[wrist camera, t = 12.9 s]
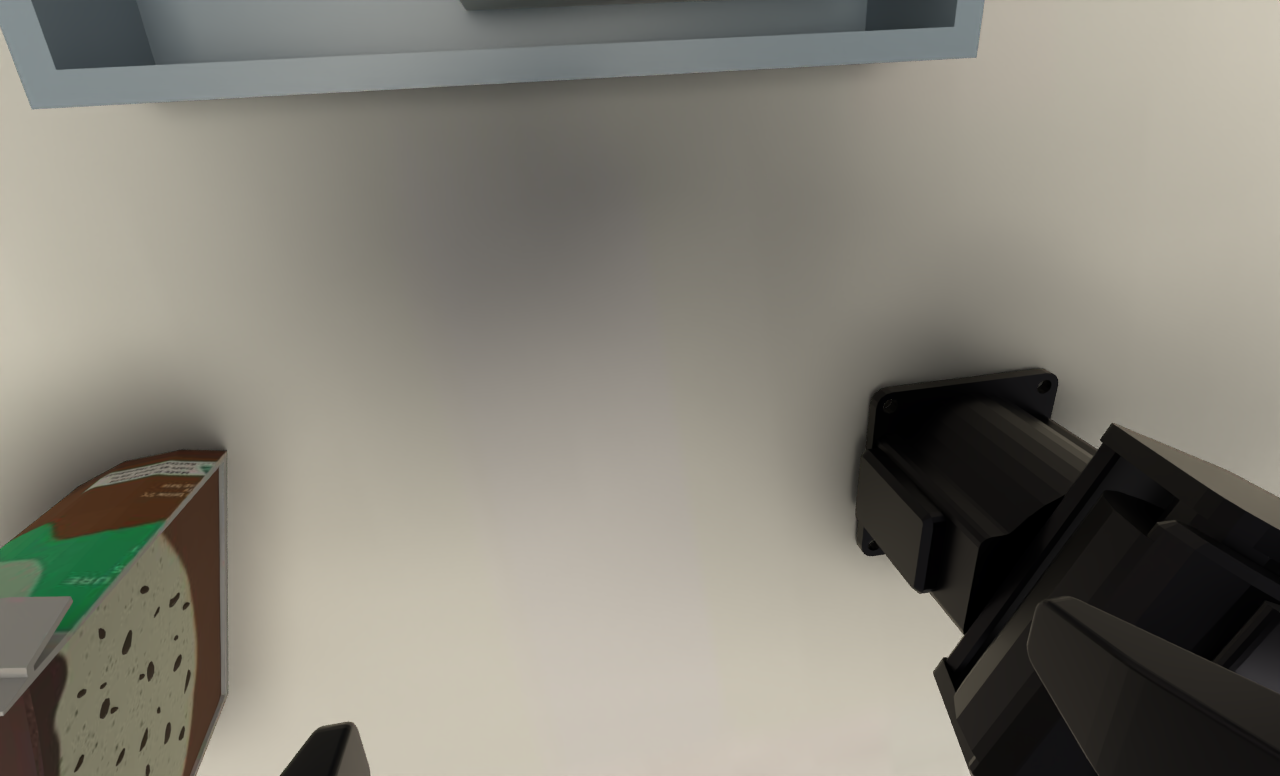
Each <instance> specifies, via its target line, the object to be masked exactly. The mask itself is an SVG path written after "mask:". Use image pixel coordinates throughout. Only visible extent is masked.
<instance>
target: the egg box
mask: <svg viewBox="0 0 1280 776" xmlns="http://www.w3.org/2000/svg"><path fill="white" fill-rule="evenodd" d="M686 1H711V0H460V2H461V3H462V5H463V6H464V8H465V10H487V9H512V8H537V7H561V6H586V5H611V4H636V3H661V2H686Z"/></svg>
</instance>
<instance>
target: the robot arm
mask: <svg viewBox="0 0 1280 776" xmlns="http://www.w3.org/2000/svg"><path fill="white" fill-rule="evenodd" d="M1042 381H1043V383H1042V385H1041V386H1040V387H1039V388H1037V387H1038V385H1039V384H1040V383H1041V382H1042ZM1057 387H1058V379H1057V377H1056V375H1054V374H1052V373H1051V372H1049V371H1047V370H1045V369H1040V368H1038V369H1030V370H1022V371H1014V372H1006V373H998V374H990V375H982V376H974V377H966V378H957V379H949V380H941V381H933V382H925V383H917V384H909V385H901V386H893V387H886V388H882V389H880V390H879V391H877V392H876V393H875V394H874V395H873V397H872V399H871V402H870V411H869V421H868V431H867V441H866V450H865V451H864V452H863V454H862V456H861V461H860V471H859V481H858V491H857V501H856V512H855V515H856V517H857V519H858V530H857V545H858V546H859V548H860V549H861V550H862V552H863V553H864V554H865V555H867V556H877V555H883V554H886V556H887V557H888V558H889V559H890V561H891V562H892V563H893V565H894V566H895V567H896V568H897V570H898V571H899V572H900V573H901V575H902V576H903V577H904V579H905V580H906V581H907V582H908V584H909V585H910V586H911V587H912V588H913V589H914V590H915V591H917V592H918V593H919V594H922V593H928V592H929V593H930V594H931V595H932V596H933V598H934V599H935V600H936V601H937V602H938V604H939V605H940V606H941V607H942V609H943V610H944V611H945V612H946V614H947V615H948V616H949V617H950V618H951V620H952V621H953V622H954V623H955V625H956V626H957V627H958V628H959V630H960V631H961V632H962V633H963V634H964V636H963V637H962V639H961V640H960V642H959V643H958V644H957V646H956V647H955V648H954V650H953V651H952V653H951V654H950V655H949V657H948V658H945V657H944V658H943V659H942V660H941V662H940V663H939V664H938V666H937V667H936V668H935V670H934V671H933V674H934V677H935V680H936V682H937V685H938V688H939V691H940V693H941V696H942V699H943V701H944V704H945V707H946V709H947V712H948V715H949V717H950V720H951V723H952V726H953V728H954V731H955V734H956V736H957V739H958V742H959V744H960V747H961V750H962V752H963V755H964V758H965V761H966V763H967V766H968V769H969V771H970V774H971V776H1280V498H1279V497H1277V496H1275V495H1273V494H1271V493H1269V492H1268V491H1266V490H1264V489H1262V488H1260V487H1258V486H1256V485H1254V484H1252V483H1251V482H1249V481H1247V480H1245V479H1243V478H1241V477H1239V476H1237V475H1235V474H1234V473H1232V472H1230V471H1227V470H1225V469H1223V468H1221V467H1218V466H1216V465H1213V464H1211V463H1209V462H1206V461H1204V460H1201V459H1199V458H1197V457H1194V456H1192V455H1189V454H1187V453H1185V452H1182V451H1180V450H1177V449H1175V448H1173V447H1170V446H1168V445H1165V444H1163V443H1161V442H1158V441H1156V440H1153V439H1151V438H1148V437H1146V436H1144V435H1141V434H1139V433H1136V432H1134V431H1132V430H1129V429H1127V428H1124V427H1122V426H1120V425H1117V424H1115V423H1112V424H1111V425H1110V426H1109V428H1108V429H1107V431H1106V432H1105V433H1104V435H1103V436H1102V438H1101V439H1100V441H1101V442H1103V443H1102V445H1101V446H1100V448H1099V449H1096V448H1095V447H1093V446H1091V445H1090V444H1088V443H1087V442H1085V441H1084V440H1082V439H1081V438H1079V437H1078V436H1076V435H1074V434H1073V433H1071V432H1070V431H1068V430H1067V429H1065V428H1064V427H1062V426H1060V425H1059V424H1057V423H1056V422H1054V421H1053V420H1051V414H1052V410H1053V405H1054V401H1055V396H1056V392H1057ZM891 399H892V402H891V404H890V405H889V406H888V407H886V408H883V406H884V404H885V403H886V402H887V401H888V400H891ZM871 540H875V541H873V542H872V543H870V544H869V542H870V541H871ZM280 776H370V768H369V764H368V761H367V758H366V754H365V751H364V748H363V744H362V741H361V738H360V735H359V731H358V729H357V727H356V725H355V724H354V723H353V722H343V723H337V724H331V725H326V726H322V727H319V728H318V729H317V730H315V731H314V732H313V733H312V735H311V736H310V737H309V738H308V740H307V741H306V742H305V744H304V745H303V746H302V748H301V749H300V750H299V751H298V753H297V754H296V755H295V757H294V758H293V759H292V761H291V762H290V763H289V764H288V766H287V767H286V768H285V770H284V771H283V772H282V774H281V775H280Z"/></svg>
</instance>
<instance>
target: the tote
mask: <svg viewBox="0 0 1280 776" xmlns="http://www.w3.org/2000/svg"><path fill="white" fill-rule="evenodd" d="M983 7H984V0H711V1H686V2H661V3H636V4H611V5H586V6H561V7H537V8H512V9H487V10H465V8H464V6H463V5H462V3H461V2H460V0H0V27H1V30H2V32H3V35H4V37H5V40H6V43H7V45H8V48H9V51H10V53H11V56H12V58H13V61H14V64H15V66H16V69H17V72H18V74H19V77H20V79H21V82H22V85H23V87H24V90H25V93H26V95H27V98H28V100H29V103H30V106H31V108H32V109H47V108H65V107H83V106H101V105H120V104H138V103H156V102H174V101H193V100H211V99H229V98H247V97H265V96H284V95H302V94H320V93H338V92H357V91H375V90H393V89H411V88H430V87H448V86H466V85H484V84H503V83H521V82H539V81H557V80H576V79H594V78H612V77H630V76H649V75H667V74H685V73H703V72H721V71H740V70H758V69H776V68H794V67H813V66H831V65H849V64H867V63H886V62H904V61H922V60H940V59H959V58H976V57H977V50H978V43H979V36H980V29H981V21H982V14H983Z"/></svg>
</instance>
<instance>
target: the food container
mask: <svg viewBox="0 0 1280 776" xmlns="http://www.w3.org/2000/svg"><path fill="white" fill-rule="evenodd" d="M227 695H228V590H227V451H220V450H177V451H173V452H168V453H163V454H158V455H153V456H148V457H144V458H139V459H134V460H129V461H125V462H123V463H121V464H119V465H117V466H115V467H114V468H112V469H110V470H108V471H106V472H104V473H103V474H101V475H99V476H97V477H95V478H93V479H91V480H90V481H88V482H86V483H84V484H82V485H80V486H79V487H77V488H76V489H75V490H74V491H72V492H71V493H70V494H69V495H67V496H66V497H65V498H64V499H62V500H61V501H60V502H59V503H57V504H56V505H55V506H54V507H52V508H51V509H50V510H48V511H47V512H46V513H45V514H43V515H42V516H41V517H40V518H38V519H37V520H36V521H35V522H33V523H32V524H31V525H30V526H28V527H27V528H26V529H25V530H23V531H22V532H21V533H20V534H18V535H17V536H16V537H15V538H13V539H12V540H11V541H10V542H8V543H7V544H6V545H5V546H3V547H2V548H1V549H0V776H196V774H197V772H198V769H199V767H200V764H201V762H202V759H203V756H204V754H205V751H206V749H207V746H208V744H209V741H210V739H211V736H212V734H213V731H214V729H215V726H216V723H217V721H218V718H219V716H220V713H221V711H222V708H223V706H224V703H225V701H226V698H227Z"/></svg>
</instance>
